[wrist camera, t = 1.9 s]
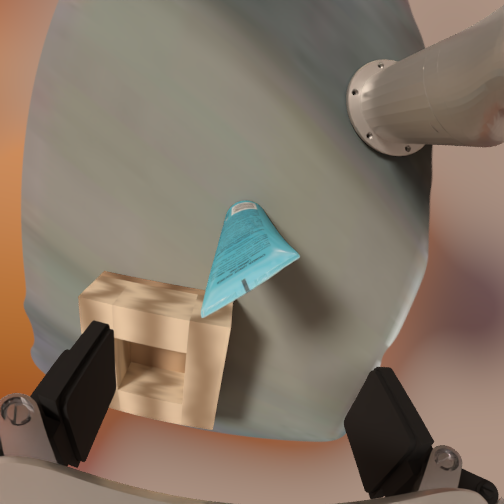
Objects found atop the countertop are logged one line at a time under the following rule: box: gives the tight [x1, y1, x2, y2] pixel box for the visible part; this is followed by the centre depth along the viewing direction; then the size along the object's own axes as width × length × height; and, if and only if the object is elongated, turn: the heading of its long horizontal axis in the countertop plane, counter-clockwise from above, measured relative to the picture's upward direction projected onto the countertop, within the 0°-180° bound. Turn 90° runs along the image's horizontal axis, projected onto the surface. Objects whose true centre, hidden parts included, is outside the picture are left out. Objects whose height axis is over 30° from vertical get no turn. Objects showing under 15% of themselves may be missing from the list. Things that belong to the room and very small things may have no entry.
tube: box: [201, 201, 300, 318], centre depth 28 cm, size 7×5×19 cm, turn 129°
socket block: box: [78, 271, 233, 430], centre depth 39 cm, size 18×18×8 cm
